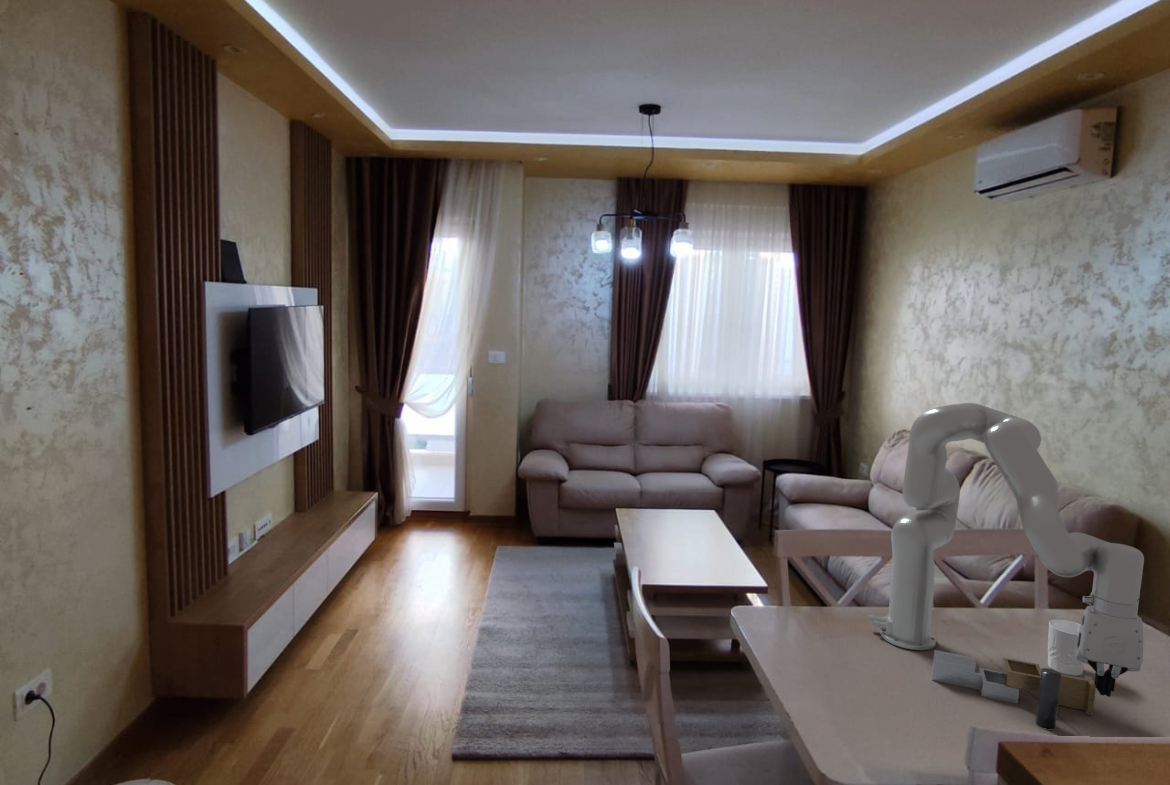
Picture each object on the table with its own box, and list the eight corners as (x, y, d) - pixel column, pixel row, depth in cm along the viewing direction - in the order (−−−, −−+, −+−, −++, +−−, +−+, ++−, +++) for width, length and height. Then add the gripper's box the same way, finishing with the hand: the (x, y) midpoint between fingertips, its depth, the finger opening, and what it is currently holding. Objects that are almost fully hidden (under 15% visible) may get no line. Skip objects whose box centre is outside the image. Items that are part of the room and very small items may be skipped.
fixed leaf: (932, 686, 153) (935, 657, 152) (931, 672, 159) (933, 644, 158) (1017, 703, 147) (1020, 674, 146) (1012, 688, 153) (1015, 659, 152)
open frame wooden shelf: (1004, 700, 148) (1007, 671, 147) (1000, 685, 154) (1003, 657, 153) (1094, 718, 142) (1097, 688, 141) (1085, 702, 148) (1089, 673, 147)
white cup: (1092, 679, 158) (1097, 636, 157) (1053, 674, 159) (1058, 632, 158) (1075, 662, 165) (1080, 621, 164) (1038, 658, 167) (1043, 617, 166)
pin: (1037, 727, 138) (1043, 674, 137) (1034, 718, 141) (1039, 666, 140) (1056, 731, 137) (1062, 678, 136) (1053, 723, 140) (1059, 670, 139)
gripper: (1074, 606, 141) (1064, 693, 143) (1167, 620, 135) (1155, 711, 137) (1065, 592, 148) (1055, 675, 150) (1153, 606, 142) (1142, 692, 144)
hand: (1103, 692), depth 143 cm, fingers closed
